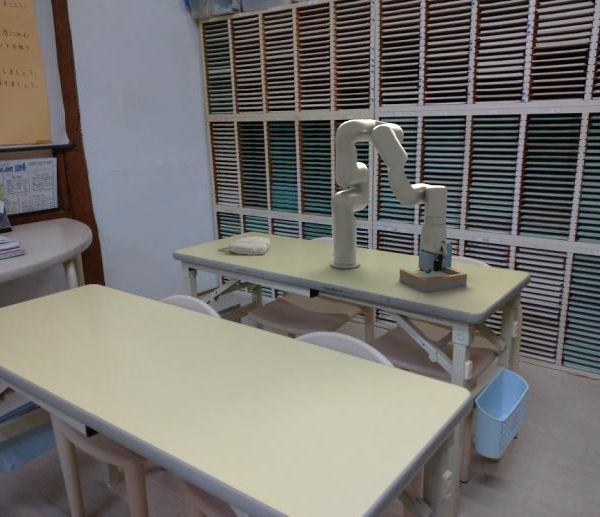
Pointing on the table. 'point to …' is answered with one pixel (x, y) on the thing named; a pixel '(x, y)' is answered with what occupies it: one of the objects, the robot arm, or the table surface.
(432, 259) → the grey-blue rounded box
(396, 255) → the table surface
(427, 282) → the tray
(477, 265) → the table surface
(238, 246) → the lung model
